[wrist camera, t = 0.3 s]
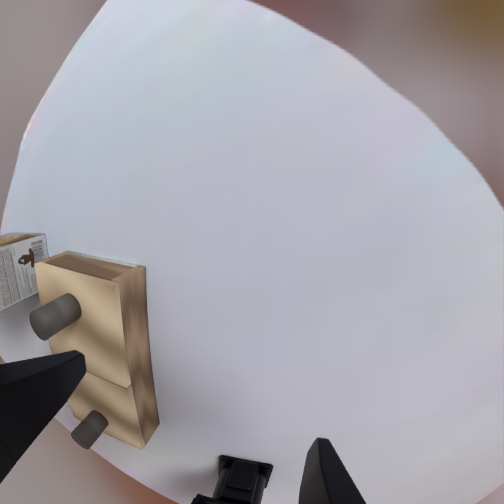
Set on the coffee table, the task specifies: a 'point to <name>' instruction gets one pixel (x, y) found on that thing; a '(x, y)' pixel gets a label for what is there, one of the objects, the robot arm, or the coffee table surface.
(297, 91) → the coffee table surface
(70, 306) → the lid
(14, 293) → the coffee box
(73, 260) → the walnut box
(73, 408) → the lid
